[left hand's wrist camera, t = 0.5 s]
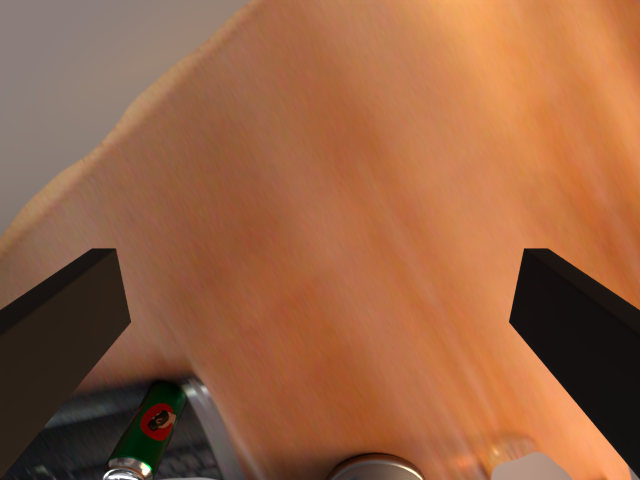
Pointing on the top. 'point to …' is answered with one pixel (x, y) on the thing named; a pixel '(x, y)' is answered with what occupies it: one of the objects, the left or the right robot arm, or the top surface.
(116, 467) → the soda can
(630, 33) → the top surface
